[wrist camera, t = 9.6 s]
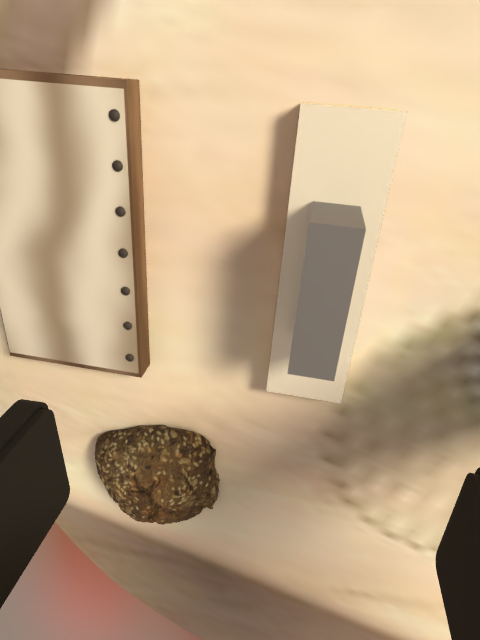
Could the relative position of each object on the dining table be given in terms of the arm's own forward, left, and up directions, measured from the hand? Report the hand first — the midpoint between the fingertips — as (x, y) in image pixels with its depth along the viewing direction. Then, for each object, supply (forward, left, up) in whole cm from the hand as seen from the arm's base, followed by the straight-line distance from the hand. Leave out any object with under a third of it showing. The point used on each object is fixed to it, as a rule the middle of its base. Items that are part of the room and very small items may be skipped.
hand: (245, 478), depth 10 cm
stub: (-2, +4, -23) cm, 24 cm away
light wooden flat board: (+17, +4, -23) cm, 29 cm away
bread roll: (+11, +28, -24) cm, 38 cm away
